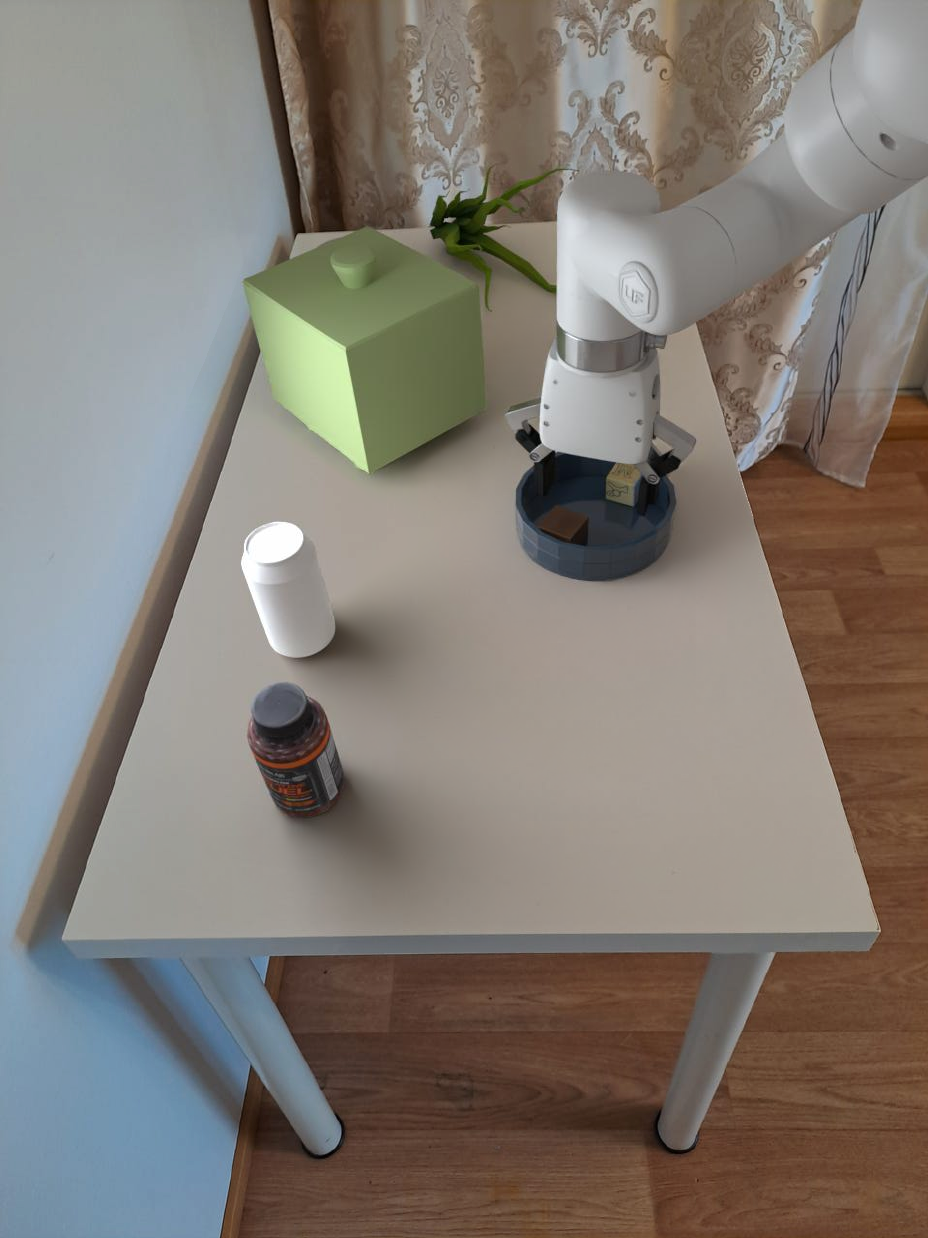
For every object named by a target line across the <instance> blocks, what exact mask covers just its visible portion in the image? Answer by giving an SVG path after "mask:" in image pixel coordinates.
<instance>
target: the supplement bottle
mask: <svg viewBox="0 0 928 1238" xmlns="http://www.w3.org/2000/svg"><path fill="white" fill-rule="evenodd" d="M250 712H251V717H250V719H249V721H248V723H247V729H246V730H247V731H246V737H247V741H248V746H249V749H250V750H251V753H252V755H253V757H254V760H255V763H256V765H257V768H258V769H259V772H260V774H261V777H262V780H263V781H264V784H265V786H266V788H267V791H268V793H269V796H270V797H271V800H272V802H273V803H274V805H275V806H276V807H277V808H278V810H280V811H281V812H282V813H284V814H286V815H288V816H291V817H294V818H310V817H315V816H318V815H320V814H323V813H325V812H326V811H328V810H329V809H330V808H332V807H333V806H334V805H335V804H336V803H337V801H338V800H339V799H340V797H341V796H342V793H343V791H344V787H345V774H344V770H343V765H342V762H341V759H340V757H339V756H340V755H339V752H338V748H337V746H336V741H335V739H334V736H333V732H332V729H331V725H330V723H329V719H328V716H327V713H326V712H325V709H324V708H323V707H322V705H321V704H320V703H319V702H318V701H317V700H316V699H314V698H313V697H311V696H308V695H307V694H306V693H305V691H304V689H302V688H301V686H299V685H297V684H295V683H293V682H288V681H285V682H284V681H283V682H282V681H281V682H275V683H272V684H270V685H267V686H266V687H264V688H262V689H261V690H260V691H259V692H258V693H257V694H256V695H255V697H254V698H253V700H252V702H251V707H250Z"/></svg>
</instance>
